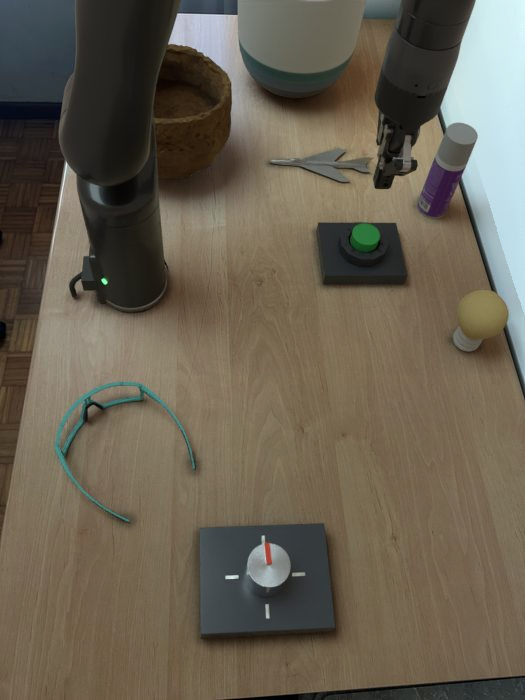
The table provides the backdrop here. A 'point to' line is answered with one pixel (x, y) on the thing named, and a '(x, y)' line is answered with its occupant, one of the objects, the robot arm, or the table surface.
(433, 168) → the container
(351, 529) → the table surface
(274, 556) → the dial
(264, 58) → the planter
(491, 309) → the light bulb
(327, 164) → the toy airplane
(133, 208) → the robot arm
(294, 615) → the panel
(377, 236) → the button
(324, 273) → the block
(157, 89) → the bowl
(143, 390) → the teal curved thin frame
